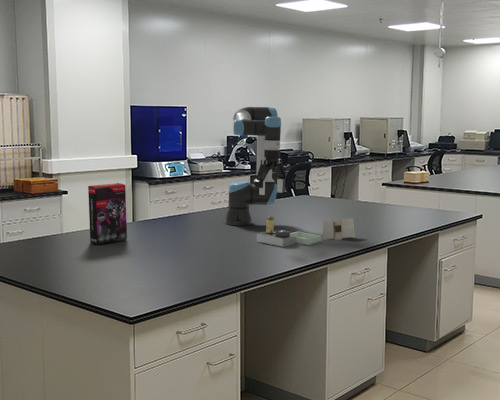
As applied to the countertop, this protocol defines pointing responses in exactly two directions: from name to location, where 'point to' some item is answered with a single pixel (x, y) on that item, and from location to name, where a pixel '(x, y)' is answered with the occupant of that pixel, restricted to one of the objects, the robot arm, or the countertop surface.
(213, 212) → the countertop surface
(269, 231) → the lock pin
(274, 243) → the base
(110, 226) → the graphics card box
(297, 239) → the tray
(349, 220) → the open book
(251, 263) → the countertop surface
